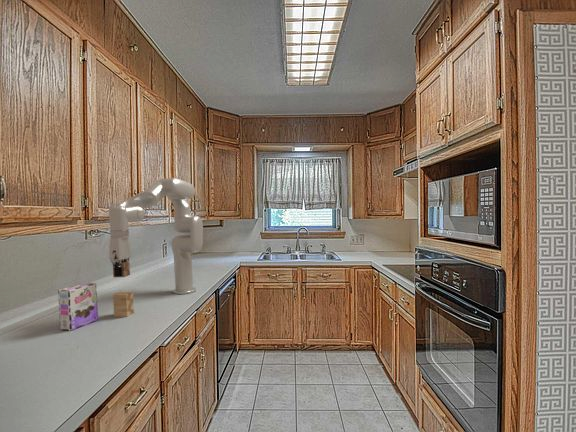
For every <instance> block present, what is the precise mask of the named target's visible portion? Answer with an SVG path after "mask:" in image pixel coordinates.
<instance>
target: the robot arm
mask: <svg viewBox="0 0 576 432" xmlns="http://www.w3.org/2000/svg"><path fill="white" fill-rule="evenodd" d="M195 195H196V189H195V186H194V185H193V184H192V183H190V182H188V181H185V180H182V179H179V178H176V177H167V178H159V179H157V180H156V181H155V182H153V183H152V184H151V185H149V187H148V188H146V189H145V190H144V191H142V192H139V193H137V194H135V195H133V196H131V197H129V198H127V199H125V200H124V201H122V202H121V203H120V204H118V206H111V207H110V208H109V210H108V214H109V215H108V218H109V219H108V220H109V234H110V236H109V237H110V239H109V245H108V246H109V250H108V252H109V254H108V255H109V256H108V257H109V261H110V263H111V264H112V268H113V267H114V276H122V267H121V262H130V258H131V247H130V246H131V245H130V241H129V240H130V238H129V237H130V235H129V231H130V230H129V223H138V222H139V223H140V222H141V221H143V220H144V218H145V216H146V211H145V209H148V208H151V207H154V206H156V205H157V204H159V202H160V201H161V200H162V199H163V198H165V197H167V199H168V200H169V201H170V202H171V203H172V205H173V209H174V215H173V216H174V223H173V224H174V230H175V231H176V232H177V233H181V234H179V235H175V236H174V237H173V238H172V239H171V244H170V245H171V249H172V255H173V262H174V263H173V265H174V266H173V267H174V284H175V288H174V289H173V290H172V294H176V295H185V294H191V293H194V292H196V291H197V288H196V287H194V280H193V277H194V276H193V261H192V256H191V254H190V253H194V254H195V253H199V252H200V251H202V249H203V246H204V241H203V240H204V224H203V220H202V218H201V217H200V216H198V215H191V206H190V204H189V202H188V200H191V199H193V198H194V197H195ZM182 233H184V234H182ZM185 233H186V234H185ZM187 233H188V234H187ZM189 234H190V235H189ZM118 262H119V263H118Z"/></svg>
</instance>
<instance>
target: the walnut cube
mask: <svg viewBox="0 0 576 432" xmlns="http://www.w3.org/2000/svg"><path fill="white" fill-rule="evenodd" d="M118 263H119V262H118ZM130 266H131V265H130V261H128V262H121V267H122V276H114V267H113V266H112V274H113V278H126V277H128V276H130V275H131V267H130Z"/></svg>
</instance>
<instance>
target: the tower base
mask: <svg viewBox="0 0 576 432" xmlns="http://www.w3.org/2000/svg"><path fill="white" fill-rule="evenodd" d="M134 307H135V306H134V302H133V303H131V304H129V305H127V306H114V305H113V317H114V318H128V317H130V316H131V315H133V314H134V313H135V309H134Z"/></svg>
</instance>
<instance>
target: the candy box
mask: <svg viewBox="0 0 576 432" xmlns="http://www.w3.org/2000/svg"><path fill="white" fill-rule="evenodd" d="M57 292H58V311H59V314H58V315H59V330H61V331H63V330H64V331H69V332H72V331H74V330H76V329H78V328H82V327H84V326H87V325H89V324H92V323H95V322H96V321H97V322H98V321H99V312H98V311H99V310H98V309H99V308H98V295H97V293H98V292H97V283H96V282H83V283H81V284H77V285H72V286H69V287H65V288H64V287H63V288H62V289H61V288H60V289H58V290H57Z"/></svg>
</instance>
